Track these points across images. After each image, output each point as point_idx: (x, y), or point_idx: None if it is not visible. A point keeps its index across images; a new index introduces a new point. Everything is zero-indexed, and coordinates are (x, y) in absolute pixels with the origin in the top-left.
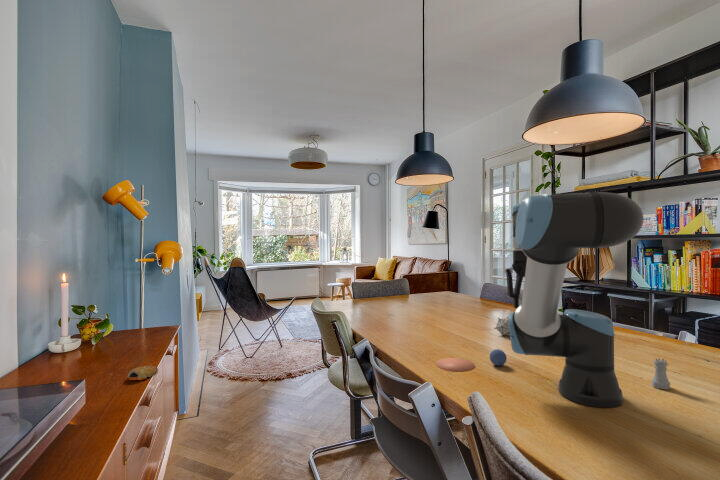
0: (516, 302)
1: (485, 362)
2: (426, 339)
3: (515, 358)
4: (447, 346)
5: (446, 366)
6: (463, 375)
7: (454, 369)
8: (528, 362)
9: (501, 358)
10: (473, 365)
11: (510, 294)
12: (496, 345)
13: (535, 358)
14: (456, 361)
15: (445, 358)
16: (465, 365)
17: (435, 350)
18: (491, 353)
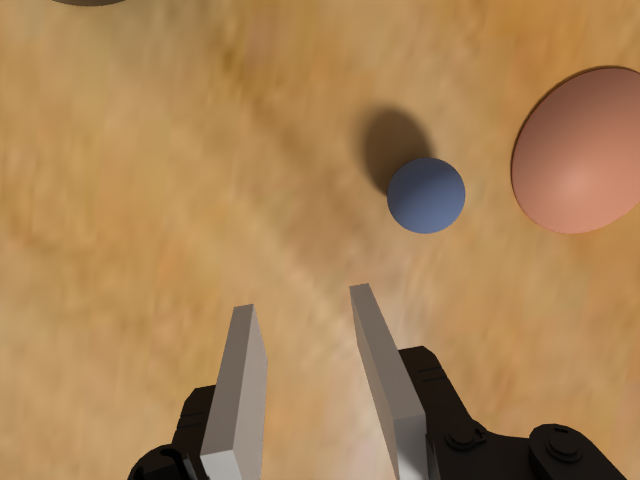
0: (437, 394)
1: None
2: (633, 424)
3: (328, 288)
4: (571, 366)
5: (637, 115)
6: (586, 20)
7: (611, 83)
8: (283, 252)
9: (418, 161)
10: (519, 154)
11: (596, 461)
12: None
13: None
14: (579, 190)
15: (616, 217)
16: (553, 147)
17: (629, 310)
18: (464, 189)
